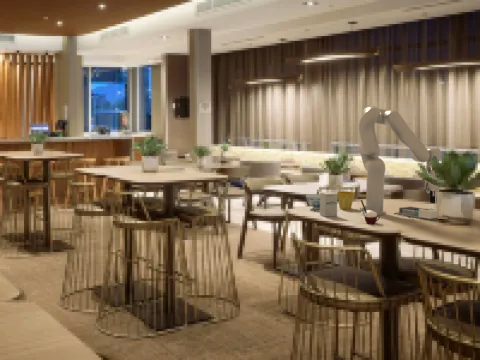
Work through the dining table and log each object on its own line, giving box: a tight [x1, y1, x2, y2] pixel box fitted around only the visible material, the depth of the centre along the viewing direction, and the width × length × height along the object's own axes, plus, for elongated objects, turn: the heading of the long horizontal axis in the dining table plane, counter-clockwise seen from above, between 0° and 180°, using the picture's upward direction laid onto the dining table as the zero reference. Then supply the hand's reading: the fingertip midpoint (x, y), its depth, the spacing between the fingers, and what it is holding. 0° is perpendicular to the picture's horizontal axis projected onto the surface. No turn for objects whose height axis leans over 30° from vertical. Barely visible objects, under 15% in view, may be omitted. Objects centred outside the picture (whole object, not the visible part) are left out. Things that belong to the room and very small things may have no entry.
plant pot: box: [336, 190, 355, 210], centre depth 359 cm, size 10×10×10 cm
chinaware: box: [305, 193, 320, 211], centre depth 358 cm, size 15×15×8 cm
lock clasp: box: [419, 207, 437, 219], centre depth 323 cm, size 10×8×4 cm
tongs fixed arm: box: [398, 205, 419, 216], centre depth 335 cm, size 9×15×3 cm, turn 32°
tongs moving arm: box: [411, 206, 429, 211], centre depth 336 cm, size 2×12×3 cm, turn 32°
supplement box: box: [319, 191, 338, 218], centre depth 332 cm, size 7×7×13 cm
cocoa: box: [360, 199, 381, 225], centre depth 308 cm, size 10×6×12 cm
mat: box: [393, 212, 439, 222], centre depth 331 cm, size 14×27×1 cm, turn 32°
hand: (433, 202), depth 340 cm, fingers closed
